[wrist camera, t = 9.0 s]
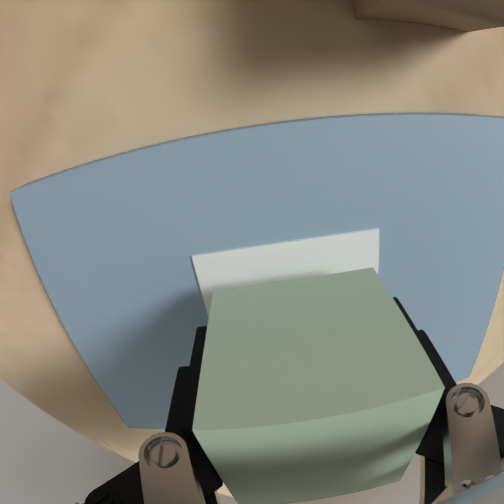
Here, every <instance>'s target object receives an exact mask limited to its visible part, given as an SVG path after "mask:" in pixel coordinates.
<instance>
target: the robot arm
mask: <svg viewBox="0 0 504 504" xmlns="http://www.w3.org/2000/svg"><path fill="white" fill-rule="evenodd" d="M393 299H394V301H395V302H396V304H397V305H398V307H399V309H400V310H401V312H402V313H403V315H404V317H405V318H406V320H407V322H408V323H409V325H410V327H411V328H412V330H413V332H414V333H415V335H416V337H417V338H418V340H419V342H420V343H421V345H422V347H423V349H424V350H425V352H426V354H427V356H428V357H429V359H430V361H431V363H432V365H433V366H434V368H435V370H436V372H437V374H438V376H439V377H440V379H441V381H442V383H443V385H444V387H445V389H444V391H443V394H442V396H441V398H440V401H439V403H438V406H437V408H436V410H435V413H434V415H433V417H432V419H431V421H430V424H429V426H428V428H427V430H426V432H425V434H424V436H423V438H422V440H421V442H420V444H419V446H418V448H417V450H416V452H415V453H416V454H419V455H420V504H504V409H502V408H499V407H495V406H492V405H490V401H489V398H488V395H487V393H486V392H485V391H484V390H483V389H482V388H481V387H479V386H478V385H475V384H472V383H462V384H458V385H457V384H456V383H455V381H454V379H453V377H452V376H451V374H450V372H449V370H448V369H447V367H446V365H445V364H444V362H443V360H442V358H441V357H440V355H439V353H438V352H437V350H436V348H435V347H434V345H433V344H432V342H431V340H430V339H429V337H428V335H427V334H426V333H425V331H424V330H422V329H421V330H417V328H416V327H415V325H414V323H413V322H412V320H411V319H410V317H409V315H408V314H407V312H406V311H405V309H404V307H403V306H402V304H401V303H400V301H399V300H398V298H397V297H393ZM206 332H207V326H200V327H197V329H196V334H195V340H194V345H193V350H192V355H191V360H190V366H180V367H179V368H178V371H177V376H176V380H175V385H174V390H173V394H172V399H171V404H170V409H169V414H168V419H167V424H166V429H165V432H163V433H157V434H155V435H152V436H151V437H149V438H148V439H146V440H145V441H144V443H143V444H142V445H141V447H140V450H139V461H138V462H137V463H135V464H134V465H132V466H131V467H129V468H128V469H126V470H125V471H123V472H121V473H120V474H118V475H117V476H115V477H114V478H112V479H111V480H109V481H107V482H106V483H104V484H103V485H101V486H99V487H98V488H96V489H95V490H93V491H92V492H91V493H90V494H89V495H88V496H87V498H86V499H85V503H83V504H221V503H220V500H219V497H218V493H217V490H218V489H219V488H220V487H221V486H222V485H223V481H222V479H221V477H220V476H219V474H218V473H217V471H216V470H215V468H214V466H213V465H212V463H211V462H210V460H209V458H208V457H207V455H206V453H205V452H204V450H203V448H202V447H201V445H200V443H199V441H198V440H197V438H196V436H195V434H194V433H193V431H192V428H193V421H194V413H195V406H196V399H197V392H198V385H199V378H200V371H201V364H202V358H203V351H204V345H205V338H206ZM75 504H79V503H75Z"/></svg>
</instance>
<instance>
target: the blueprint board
mask: <svg viewBox="0 0 504 504" xmlns="http://www.w3.org/2000/svg"><path fill="white" fill-rule="evenodd" d="M9 194H10V197H11V200H12V204H13V207H14V210H15V213H16V216H17V219H18V222H19V225H20V228H21V230H22V233H23V236H24V239H25V241H26V244H27V247H28V249H29V252H30V254H31V257H32V259H33V262H34V264H35V266H36V269H37V271H38V273H39V276H40V278H41V280H42V282H43V285H44V287H45V289H46V291H47V293H48V296H49V298H50V300H51V302H52V304H53V306H54V308H55V310H56V312H57V314H58V316H59V318H60V320H61V322H62V324H63V326H64V327H65V329H66V331H67V333H68V335H69V337H70V338H71V340H72V342H73V344H74V346H75V347H76V349H77V351H78V353H79V354H80V356H81V358H82V359H83V361H84V363H85V364H86V366H87V368H88V369H89V371H90V373H91V374H92V376H93V377H94V379H95V380H96V382H97V384H98V385H99V387H100V388H101V390H102V391H103V393H104V394H105V396H106V397H107V399H108V400H109V402H110V403H111V404H112V406H113V407H114V409H115V410H116V412H117V413H118V414H119V416H120V417H121V418H122V420H123V421H124V423H125V424H126V425H127V427H128V428H150V429H166V424H167V419H168V414H169V409H170V404H171V399H172V394H173V390H174V385H175V380H176V376H177V371H178V368H179V367H180V366H190V360H191V355H192V350H193V345H194V340H195V334H196V329H197V327H200V326H208V319H209V313H210V307H211V301H212V295H213V291H216V290H223V289H231V288H239V287H246V286H253V285H260V284H268V283H275V282H282V281H288V280H295V279H302V278H309V277H315V276H322V275H328V274H334V273H341V272H347V271H353V270H359V269H365V268H371V267H373V268H374V270H375V271H376V273H377V274H378V276H379V277H380V279H381V280H382V282H383V283H384V285H385V286H386V288H387V289H388V291H389V293H390V294H391V296H392V297H397V298H398V300H399V301H400V303H401V304H402V306H403V307H404V309H405V311H406V312H407V314H408V315H409V317H410V319H411V320H412V322H413V323H414V325H415V327H416V328H417V330H421V329H422V330H424V331H425V333H426V334H427V335H428V337H429V339H430V340H431V342H432V344H433V345H434V347H435V348H436V350H437V352H438V353H439V355H440V357H441V358H442V360H443V362H444V364H445V365H446V367H447V369H448V370H449V372H450V374H451V376H452V377H453V379H454V381H455V382H457V381H459V380H462V379H465V378H468V377H469V376H470V374H471V371H472V369H473V366H474V364H475V361H476V359H477V356H478V353H479V351H480V348H481V345H482V342H483V339H484V337H485V334H486V331H487V328H488V325H489V321H490V318H491V315H492V312H493V308H494V305H495V301H496V298H497V294H498V290H499V286H500V282H501V278H502V274H503V269H504V117H500V116H488V115H474V114H455V113H377V114H356V115H341V116H328V117H317V118H307V119H297V120H289V121H280V122H273V123H265V124H258V125H252V126H245V127H239V128H233V129H227V130H221V131H216V132H211V133H205V134H200V135H195V136H190V137H186V138H181V139H176V140H172V141H167V142H163V143H159V144H155V145H151V146H146V147H142V148H139V149H135V150H131V151H127V152H123V153H120V154H116V155H113V156H109V157H106V158H102V159H99V160H95V161H92V162H89V163H86V164H82V165H79V166H76V167H73V168H70V169H67V170H64V171H61V172H58V173H55V174H52V175H49V176H47V177H44V178H41V179H38V180H35V181H33V182H30V183H27V184H25V185H22V186H21V187H19V188H17V189H15V190H13V191H11V192H9Z"/></svg>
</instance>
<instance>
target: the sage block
mask: <svg viewBox="0 0 504 504" xmlns="http://www.w3.org/2000/svg"><path fill="white" fill-rule="evenodd" d="M444 389H445V387H444V385H443V383H442V381H441V379H440V377H439V376H438V374H437V372H436V370H435V368H434V366H433V365H432V363H431V361H430V359H429V357H428V356H427V354H426V352H425V350H424V349H423V347H422V345H421V343H420V342H419V340H418V338H417V337H416V335H415V333H414V332H413V330H412V328H411V327H410V325H409V323H408V322H407V320H406V318H405V317H404V315H403V313H402V312H401V310H400V309H399V307H398V305H397V304H396V302H395V301H394V299H393V297H392V296H391V294H390V293H389V291H388V289H387V288H386V286H385V285H384V283H383V282H382V280H381V279H380V277H379V276H378V274H377V273H376V271H375V270H374V268H373V267H371V268H365V269H359V270H353V271H347V272H341V273H334V274H328V275H322V276H315V277H309V278H302V279H295V280H288V281H282V282H275V283H268V284H260V285H253V286H246V287H239V288H231V289H223V290H216V291H213V295H212V301H211V307H210V313H209V319H208V326H207V332H206V338H205V345H204V351H203V358H202V364H201V371H200V378H199V385H198V392H197V399H196V406H195V413H194V421H193V428H192V431H193V433H194V434H195V436H196V438H197V440H198V441H199V443H200V445H201V447H202V448H203V450H204V452H205V453H206V455H207V457H208V458H209V460H210V462H211V463H212V465H213V466H214V468H215V470H216V471H217V473H218V474H219V476H220V477H221V479H222V481H223V482H224V484H225V485H226V487H227V488H228V490H229V491H230V493H231V494H232V496H233V497H234V498H235V500H236V501H237V503H238V504H286V503H296V502H303V501H311V500H317V499H324V498H329V497H334V496H339V495H345V494H350V493H355V492H359V491H363V490H368V489H372V488H375V487H379V486H383V485H386V484H390V483H394V482H397V481H399V480H400V479H401V477H402V476H403V474H404V472H405V470H406V469H407V467H408V465H409V463H410V461H411V459H412V458H413V456H414V454H415V452H416V450H417V448H418V446H419V444H420V442H421V440H422V438H423V436H424V434H425V432H426V430H427V428H428V426H429V424H430V421H431V419H432V417H433V415H434V413H435V410H436V408H437V406H438V403H439V401H440V398H441V396H442V394H443V391H444Z"/></svg>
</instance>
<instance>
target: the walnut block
mask: <svg viewBox="0 0 504 504" xmlns="http://www.w3.org/2000/svg"><path fill="white" fill-rule="evenodd" d="M352 5H353V9H354V14H355V19H377V20H391V21H402V22H412V23H420V24H427V25H434V26H440V27H446V28H452V29H457V30H462V31H467V32H471V31H477V30H483V29H489V28H496V27H503V26H504V0H352Z"/></svg>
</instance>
